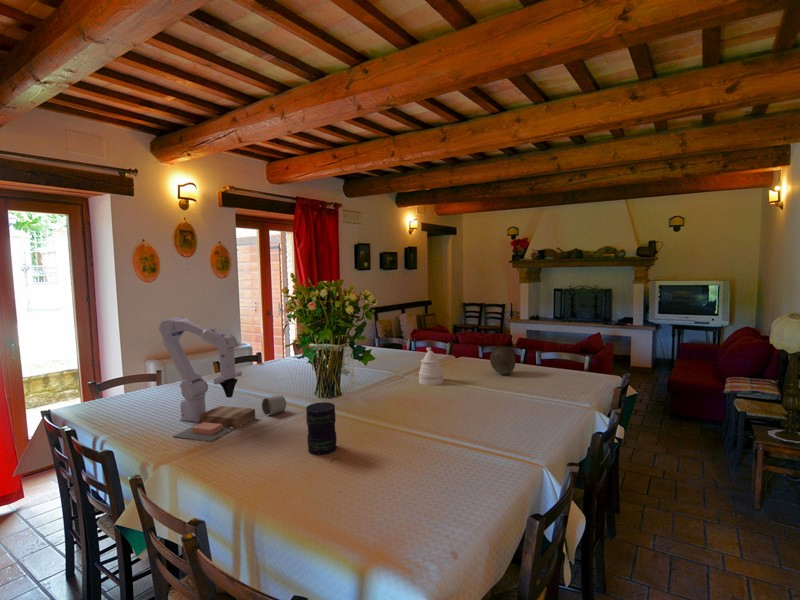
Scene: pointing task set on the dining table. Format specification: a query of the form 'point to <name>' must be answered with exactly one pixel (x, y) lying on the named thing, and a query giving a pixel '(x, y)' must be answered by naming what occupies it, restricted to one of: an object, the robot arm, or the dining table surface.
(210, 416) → the deck
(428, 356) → the honey pot
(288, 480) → the dining table surface
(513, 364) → the dark brown round vase
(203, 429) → the salmon pink panel
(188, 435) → the mat
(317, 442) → the storage jar
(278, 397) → the grey cylinder
